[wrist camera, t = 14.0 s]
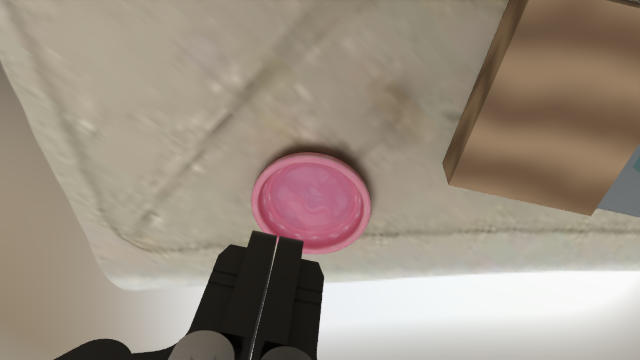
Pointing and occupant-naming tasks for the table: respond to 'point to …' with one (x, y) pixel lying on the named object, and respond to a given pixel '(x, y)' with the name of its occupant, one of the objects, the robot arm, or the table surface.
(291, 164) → the pink round bowl
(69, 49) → the table surface
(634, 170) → the mat
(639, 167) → the teal rectangular block
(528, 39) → the wooden block
